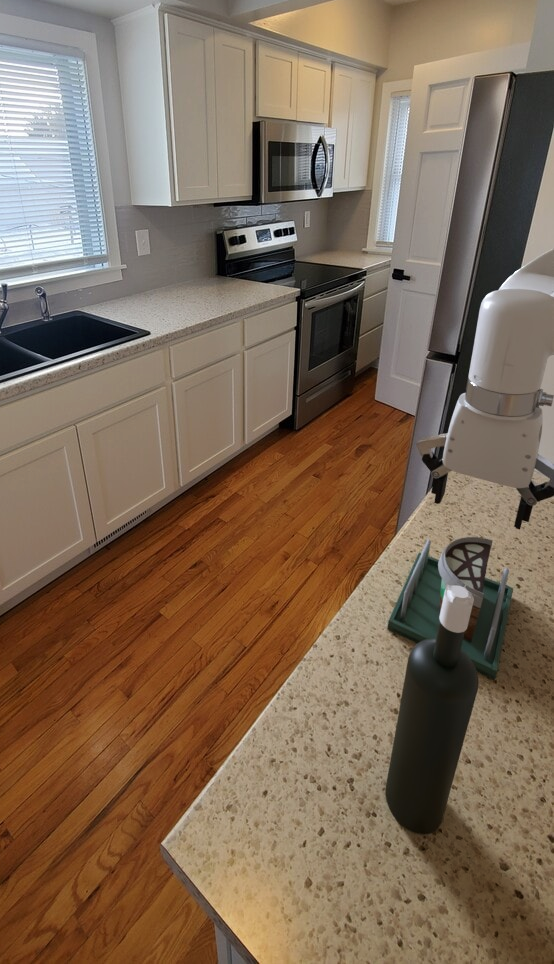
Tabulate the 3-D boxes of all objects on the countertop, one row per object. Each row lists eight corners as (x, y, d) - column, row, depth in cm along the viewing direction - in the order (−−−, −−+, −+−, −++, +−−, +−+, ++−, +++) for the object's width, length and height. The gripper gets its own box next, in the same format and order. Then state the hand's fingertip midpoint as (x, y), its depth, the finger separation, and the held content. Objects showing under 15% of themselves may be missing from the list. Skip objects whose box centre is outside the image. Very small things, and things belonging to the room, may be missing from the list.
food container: (438, 573, 78) (448, 524, 74) (480, 588, 75) (493, 537, 71) (422, 631, 69) (432, 578, 65) (469, 650, 66) (483, 596, 62)
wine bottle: (403, 758, 55) (442, 554, 43) (453, 802, 51) (512, 593, 39) (374, 798, 51) (408, 590, 39) (425, 850, 48) (480, 636, 35)
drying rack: (510, 596, 75) (520, 564, 72) (494, 680, 63) (504, 645, 60) (417, 560, 82) (422, 529, 79) (387, 629, 70) (391, 595, 67)
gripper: (589, 398, 56) (555, 516, 63) (432, 371, 65) (418, 476, 72) (588, 426, 50) (551, 552, 58) (417, 392, 60) (403, 504, 67)
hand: (477, 510), depth 65 cm, fingers open, 9 cm apart
